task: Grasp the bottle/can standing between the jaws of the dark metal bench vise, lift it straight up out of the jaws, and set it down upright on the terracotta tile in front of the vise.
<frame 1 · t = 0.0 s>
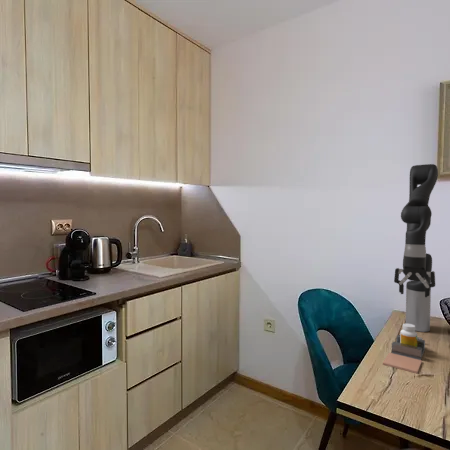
hand: (413, 295, 131), 17 cm above the table, tool pointing down, fingers open, 8 cm apart
supplement bottle: (408, 352, 118), resting in bench vise
terracotta tile: (402, 363, 108), on the table
bench vise: (408, 351, 118), on the table
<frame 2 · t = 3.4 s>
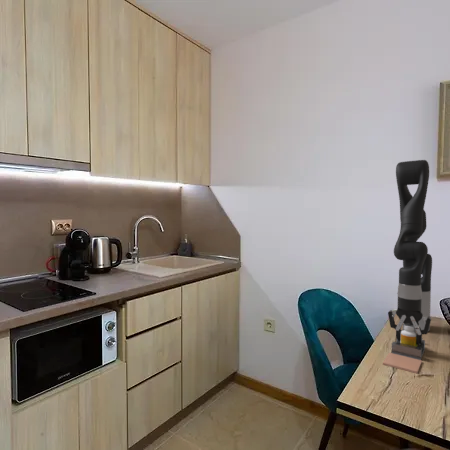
hand: (408, 341, 118), 3 cm above the table, tool pointing down, fingers closed on supplement bottle, 5 cm apart
supplement bottle: (408, 352, 118), resting in bench vise, touching gripper
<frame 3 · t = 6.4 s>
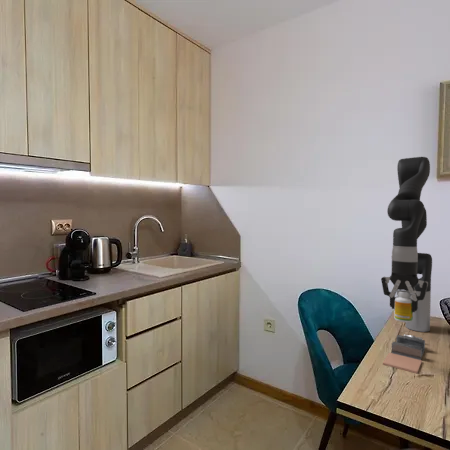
hand: (403, 309, 108), 18 cm above the table, tool pointing down, fingers closed on supplement bottle, 5 cm apart
supplement bottle: (403, 320, 108), point 14 cm above the table, touching gripper
when the fingers open (5 cm above the table, at t = 9.6 s): supplement bottle drops 1 cm, resting on terracotta tile.
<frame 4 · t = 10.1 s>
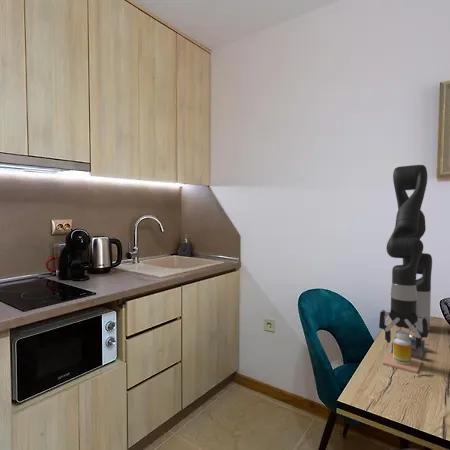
hand: (402, 345, 108), 6 cm above the table, tool pointing down, fingers open, 8 cm apart
supplement bottle: (402, 361, 108), resting on terracotta tile
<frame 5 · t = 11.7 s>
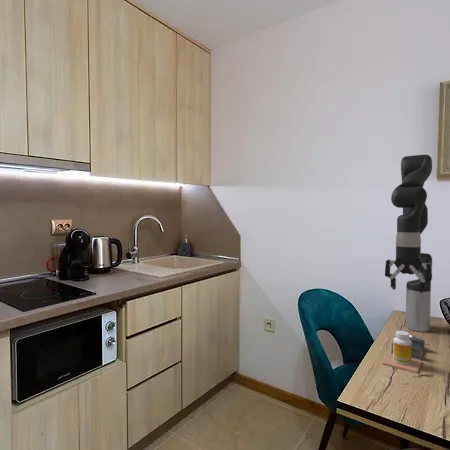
hand: (407, 290, 113), 23 cm above the table, tool pointing down, fingers open, 8 cm apart
nothing on the table moved.
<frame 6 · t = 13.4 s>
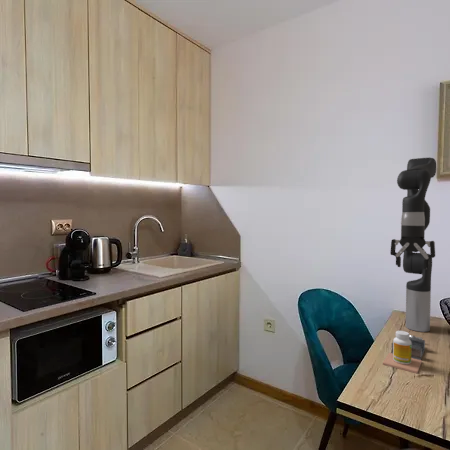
hand: (411, 267, 120), 30 cm above the table, tool pointing down, fingers open, 8 cm apart
nothing on the table moved.
at the end: supplement bottle 0.1 cm off-centre on the terracotta tile, point 0.4 cm above the terracotta tile's base; supplement bottle tilted 0°; the gripper is holding nothing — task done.
